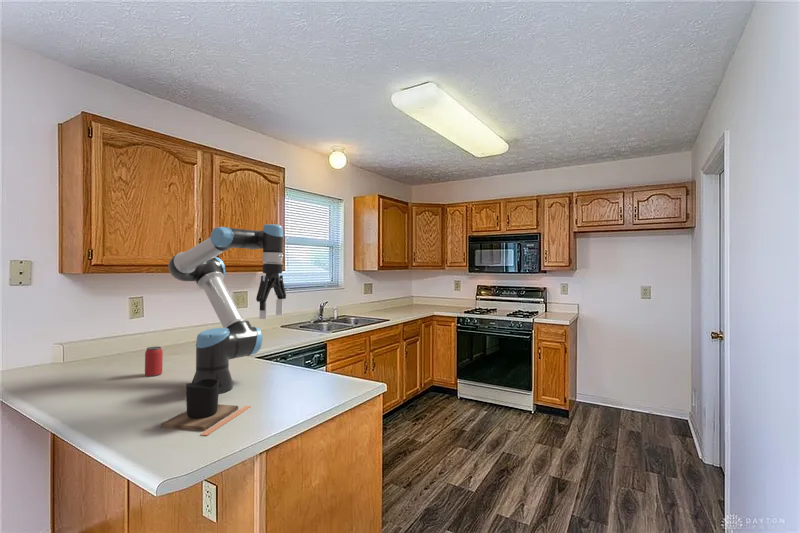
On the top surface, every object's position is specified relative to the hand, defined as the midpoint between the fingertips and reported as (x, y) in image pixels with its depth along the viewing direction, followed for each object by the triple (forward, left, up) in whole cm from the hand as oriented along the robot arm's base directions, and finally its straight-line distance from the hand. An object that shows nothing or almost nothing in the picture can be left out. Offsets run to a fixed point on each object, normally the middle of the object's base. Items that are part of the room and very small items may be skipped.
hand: (271, 316), depth 156 cm
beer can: (-60, +9, -29) cm, 67 cm away
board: (-7, -32, -29) cm, 44 cm away
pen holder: (-7, -32, -28) cm, 43 cm away
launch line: (+2, -32, -29) cm, 43 cm away
